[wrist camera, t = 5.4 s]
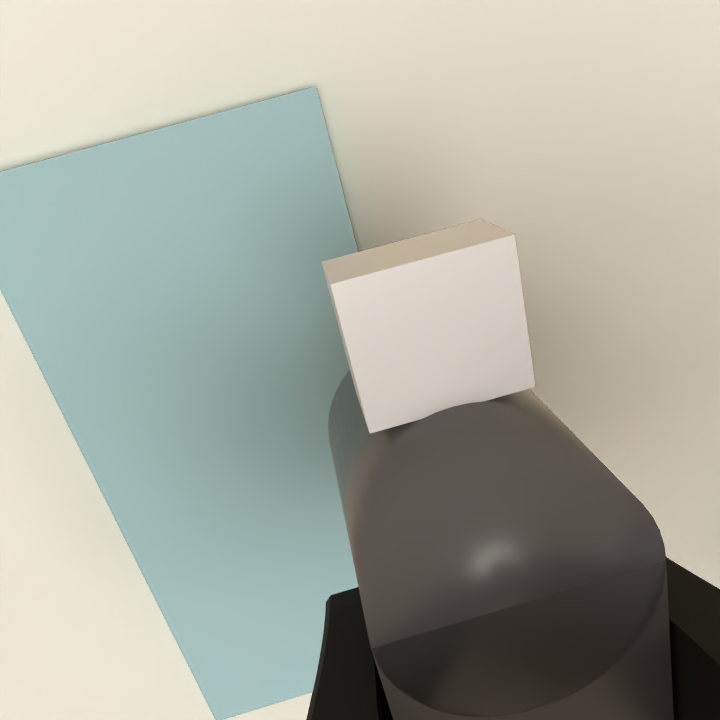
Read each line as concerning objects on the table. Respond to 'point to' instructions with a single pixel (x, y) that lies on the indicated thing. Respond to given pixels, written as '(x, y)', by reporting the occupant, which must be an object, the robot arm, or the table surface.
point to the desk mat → (201, 371)
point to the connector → (483, 502)
